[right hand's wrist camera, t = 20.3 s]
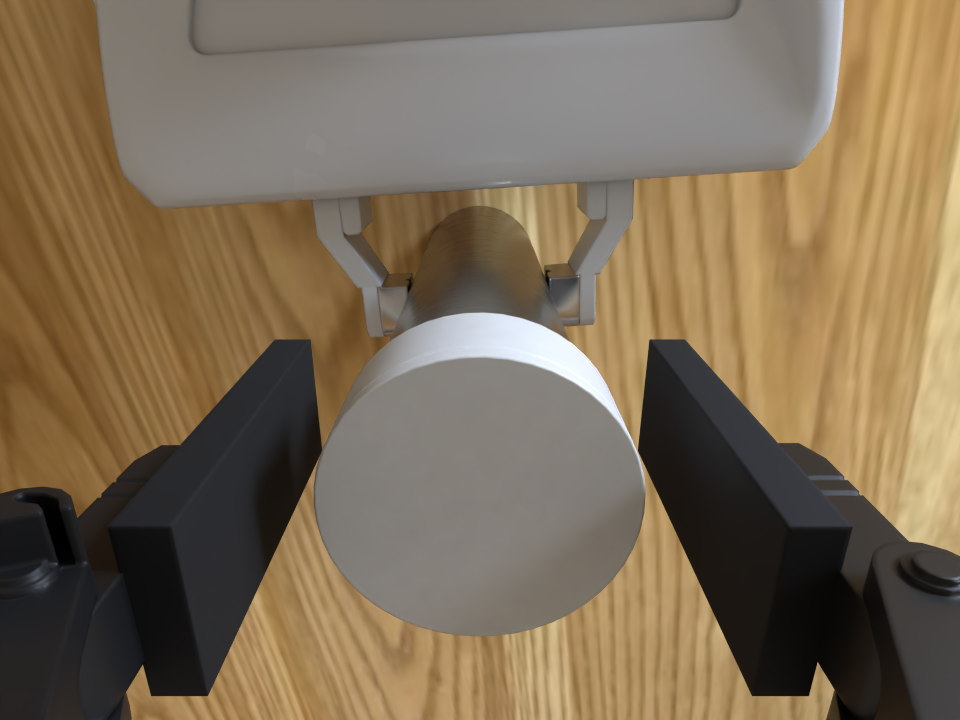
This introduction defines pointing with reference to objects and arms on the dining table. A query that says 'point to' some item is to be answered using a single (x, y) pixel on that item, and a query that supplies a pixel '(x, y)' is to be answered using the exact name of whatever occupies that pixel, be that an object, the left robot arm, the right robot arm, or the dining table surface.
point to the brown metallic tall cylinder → (479, 273)
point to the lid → (479, 478)
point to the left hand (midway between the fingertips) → (482, 326)
